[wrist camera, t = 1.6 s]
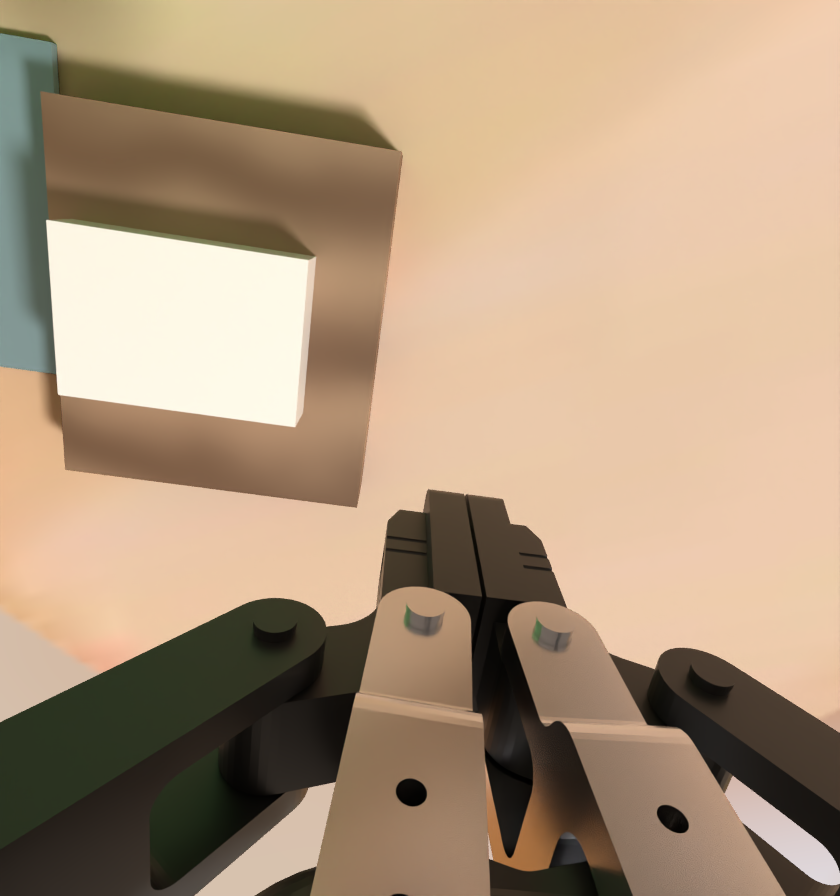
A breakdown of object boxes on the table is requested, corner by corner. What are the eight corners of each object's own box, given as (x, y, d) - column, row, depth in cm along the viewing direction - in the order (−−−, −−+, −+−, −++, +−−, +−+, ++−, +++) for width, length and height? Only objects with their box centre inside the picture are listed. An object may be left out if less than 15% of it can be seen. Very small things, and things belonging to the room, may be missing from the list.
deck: (74, 101, 26) (40, 91, 23) (402, 156, 27) (401, 151, 24) (91, 450, 32) (65, 469, 29) (360, 486, 32) (356, 507, 30)
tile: (73, 218, 25) (46, 220, 23) (316, 256, 26) (308, 260, 24) (82, 382, 28) (57, 394, 26) (303, 412, 28) (295, 427, 26)
